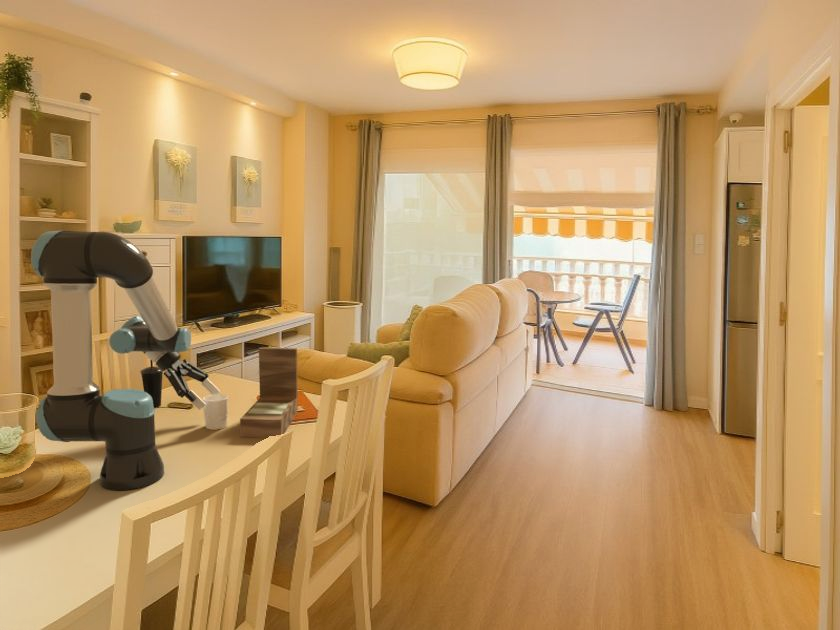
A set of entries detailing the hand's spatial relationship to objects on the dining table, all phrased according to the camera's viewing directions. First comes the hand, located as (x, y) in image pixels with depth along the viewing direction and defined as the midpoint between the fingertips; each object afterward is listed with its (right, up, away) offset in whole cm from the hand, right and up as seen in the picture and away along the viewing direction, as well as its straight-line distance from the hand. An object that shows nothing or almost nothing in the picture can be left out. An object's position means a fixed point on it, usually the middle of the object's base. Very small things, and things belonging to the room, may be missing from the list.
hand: (210, 400), depth 187 cm
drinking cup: (-28, -5, +18) cm, 34 cm away
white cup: (+2, -9, 0) cm, 9 cm away
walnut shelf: (+20, -9, +3) cm, 21 cm away
